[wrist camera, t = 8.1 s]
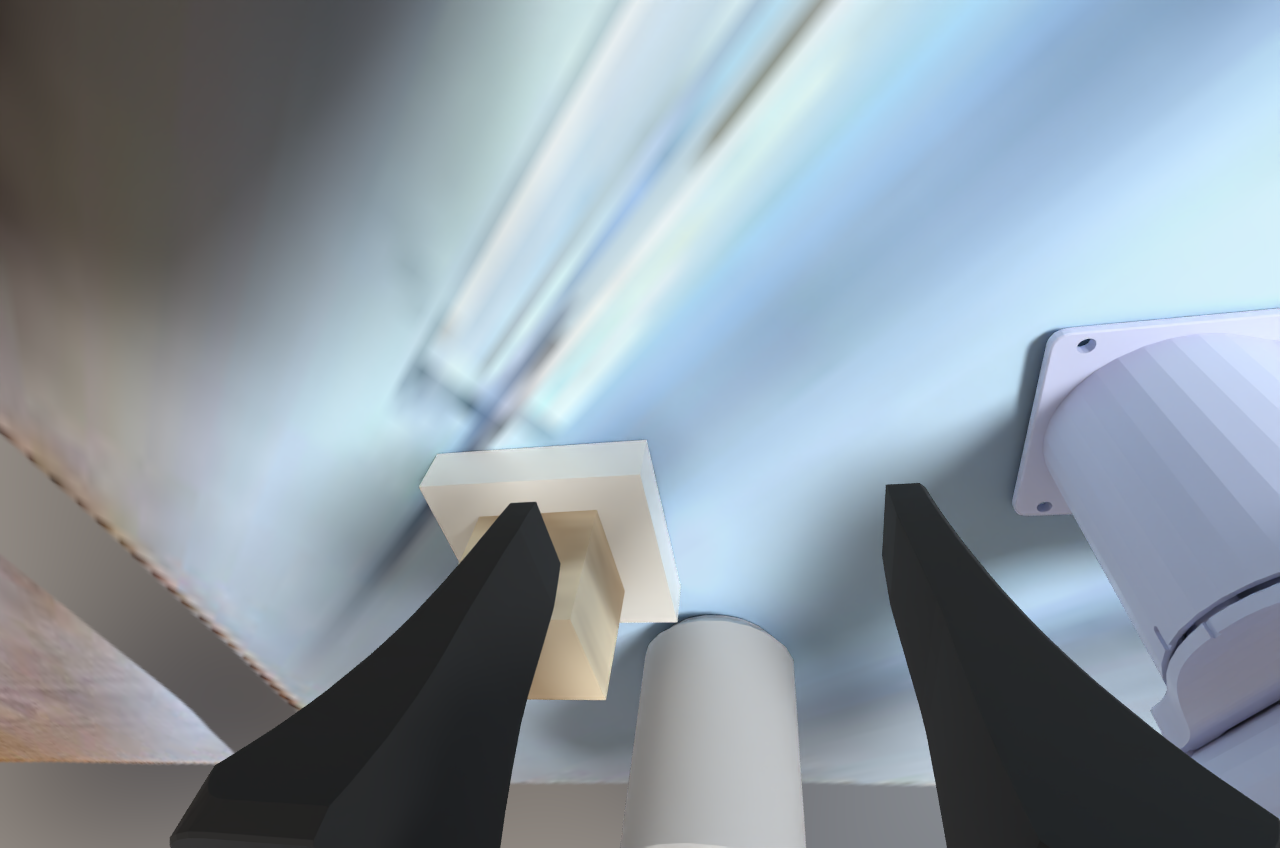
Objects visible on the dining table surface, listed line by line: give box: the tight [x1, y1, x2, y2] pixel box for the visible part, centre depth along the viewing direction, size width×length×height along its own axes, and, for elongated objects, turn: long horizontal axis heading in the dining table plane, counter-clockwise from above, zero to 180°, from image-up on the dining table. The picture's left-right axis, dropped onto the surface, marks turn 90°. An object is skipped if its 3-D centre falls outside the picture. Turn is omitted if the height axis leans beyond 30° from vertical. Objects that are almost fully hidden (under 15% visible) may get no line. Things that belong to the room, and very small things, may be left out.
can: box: [620, 615, 806, 848], centre depth 29 cm, size 8×8×12 cm
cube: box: [458, 510, 625, 700], centre depth 25 cm, size 5×5×5 cm
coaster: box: [419, 440, 681, 623], centre depth 28 cm, size 9×9×2 cm
